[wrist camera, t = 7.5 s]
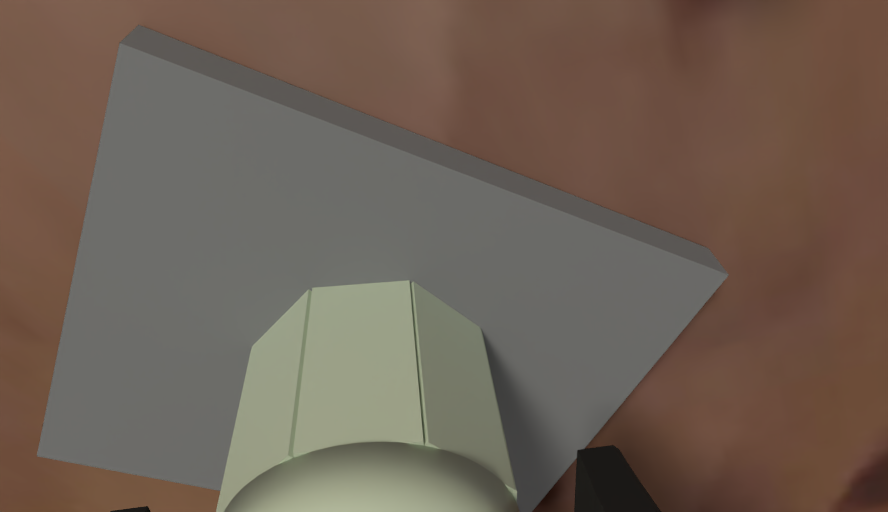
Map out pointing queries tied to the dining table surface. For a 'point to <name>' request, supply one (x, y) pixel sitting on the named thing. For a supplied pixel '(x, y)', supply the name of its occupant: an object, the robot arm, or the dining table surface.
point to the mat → (332, 268)
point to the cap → (369, 410)
